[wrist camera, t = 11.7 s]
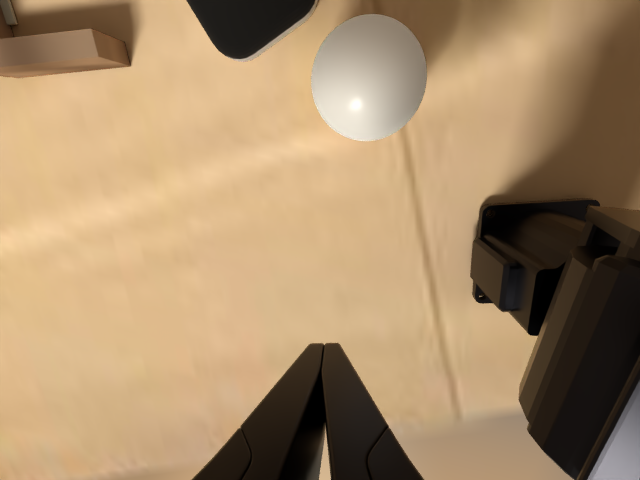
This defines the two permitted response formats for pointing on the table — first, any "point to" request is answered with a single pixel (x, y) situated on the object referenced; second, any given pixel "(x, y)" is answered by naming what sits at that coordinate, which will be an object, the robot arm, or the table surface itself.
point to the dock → (55, 50)
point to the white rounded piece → (369, 77)
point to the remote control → (250, 23)
